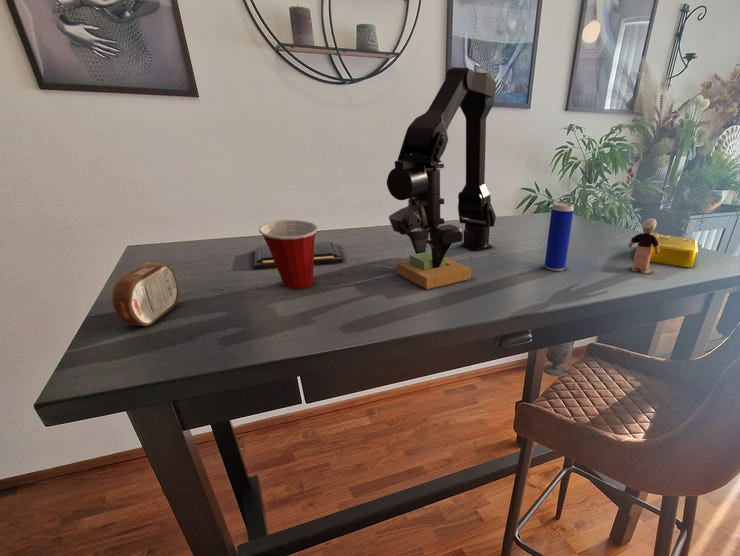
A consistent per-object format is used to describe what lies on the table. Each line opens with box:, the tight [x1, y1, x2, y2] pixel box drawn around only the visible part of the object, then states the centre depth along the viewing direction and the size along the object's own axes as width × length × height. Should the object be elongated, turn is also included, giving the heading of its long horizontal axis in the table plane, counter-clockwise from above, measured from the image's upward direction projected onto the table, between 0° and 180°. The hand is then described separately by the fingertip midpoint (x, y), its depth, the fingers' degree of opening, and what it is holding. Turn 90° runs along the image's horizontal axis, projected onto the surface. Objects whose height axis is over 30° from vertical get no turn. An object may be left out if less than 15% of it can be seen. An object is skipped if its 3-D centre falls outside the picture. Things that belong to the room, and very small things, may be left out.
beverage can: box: [544, 202, 575, 272], centre depth 106 cm, size 5×5×15 cm
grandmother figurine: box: [627, 217, 659, 274], centre depth 108 cm, size 8×4×13 cm, turn 65°
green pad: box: [409, 250, 447, 270], centre depth 101 cm, size 6×6×3 cm
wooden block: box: [396, 256, 472, 290], centre depth 100 cm, size 12×12×2 cm
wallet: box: [253, 240, 343, 269], centre depth 109 cm, size 20×2×15 cm
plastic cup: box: [258, 219, 318, 290], centre depth 90 cm, size 11×11×12 cm
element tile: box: [635, 232, 698, 268], centre depth 121 cm, size 15×15×5 cm
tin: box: [111, 261, 179, 327], centre depth 75 cm, size 15×3×8 cm, turn 5°
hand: (428, 265), depth 102 cm, fingers closed on green pad, 6 cm apart
